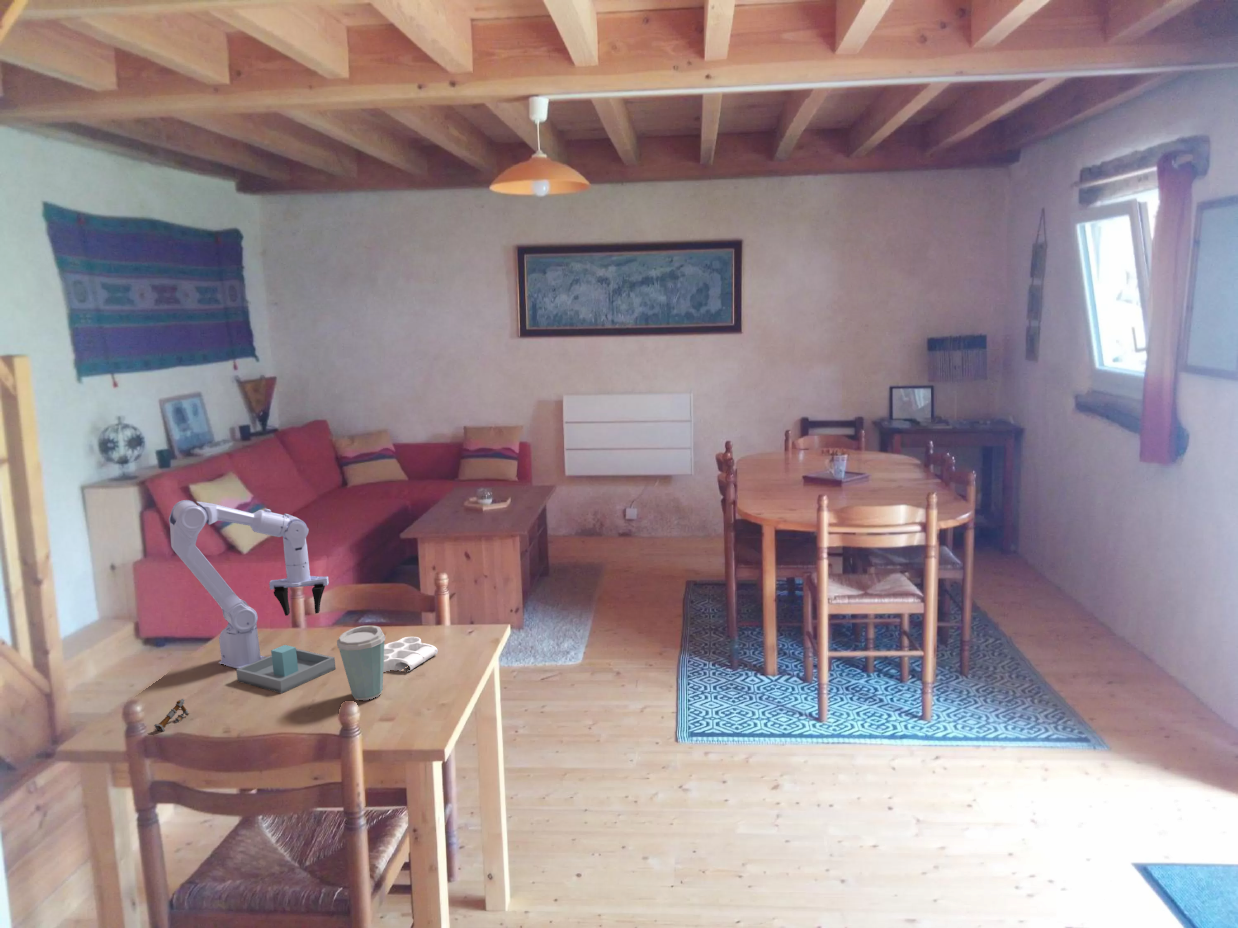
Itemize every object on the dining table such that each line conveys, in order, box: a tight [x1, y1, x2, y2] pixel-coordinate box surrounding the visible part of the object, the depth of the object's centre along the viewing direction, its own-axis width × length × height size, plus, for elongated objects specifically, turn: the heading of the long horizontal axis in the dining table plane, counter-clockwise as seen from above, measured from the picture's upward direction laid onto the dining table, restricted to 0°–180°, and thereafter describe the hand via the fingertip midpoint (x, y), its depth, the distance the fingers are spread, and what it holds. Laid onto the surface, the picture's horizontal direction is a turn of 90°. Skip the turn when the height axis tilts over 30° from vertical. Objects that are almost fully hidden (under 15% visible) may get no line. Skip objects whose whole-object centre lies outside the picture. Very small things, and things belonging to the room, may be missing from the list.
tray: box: [236, 648, 337, 694], centre depth 224 cm, size 16×16×3 cm
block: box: [270, 644, 298, 677], centre depth 223 cm, size 4×4×6 cm
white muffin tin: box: [383, 636, 439, 673], centre depth 230 cm, size 3×18×15 cm
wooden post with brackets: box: [154, 698, 190, 732], centre depth 200 cm, size 2×8×4 cm, turn 159°
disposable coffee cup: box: [336, 625, 387, 701], centre depth 209 cm, size 11×11×15 cm
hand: (302, 613), depth 241 cm, fingers open, 7 cm apart
